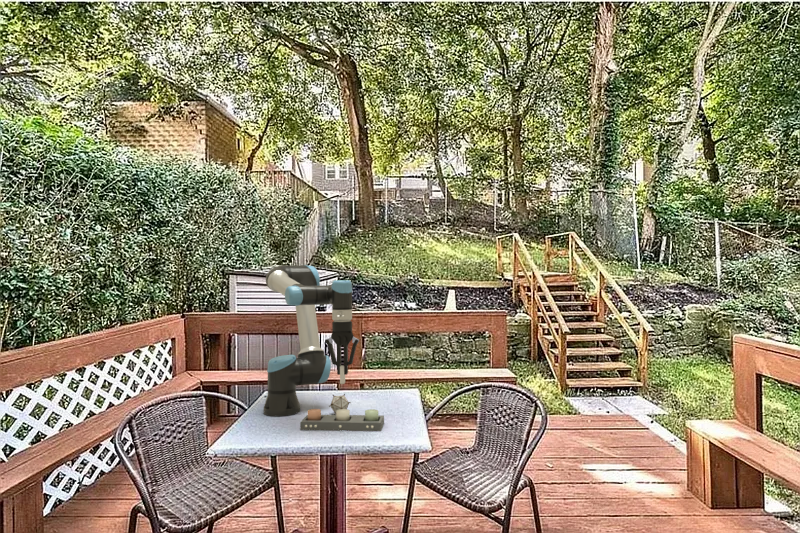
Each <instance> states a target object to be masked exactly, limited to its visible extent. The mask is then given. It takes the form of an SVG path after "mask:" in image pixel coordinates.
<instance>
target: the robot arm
mask: <svg viewBox="0 0 800 533" xmlns="http://www.w3.org/2000/svg"><path fill="white" fill-rule="evenodd" d="M265 284H266V286H267V288H269V289H270V290H271V291H272V292H275V293H280V294H281V295H283V296H284V300H285V302H286V305H288V306H295V312H296V321H297V329H298V330H297V331H298V338H299V339H298V340H299V346H300V347H299V348H300V351H299V352H298V353H297V357H296V355H295V354H288V355H287V354H285V355H279V356H275V357H272V358H270V359H269V360H268V362H267V371H266V372H267V396H266V399H265V402H264V405H263V415H266V416H268V417H269V416H270V417H286V416H292V415H297V414H298V413H300V412H301V404H300V401H299V398H298V395H297V387H298V386H306V385H314V384H315V385H318V384H323V383H326V382H327V381H328V379H329V377H330V375H331V371H332V370H331V368H332V365H334V366H336V369H337V370H336V372H337V375H339V384H340V385H345V384H346V376H347V375H348V374H349V366H350V365H352V364H353V362H354V359H355V355H356V354H355V353H356V350H357V345H358V344H359V342H360V339H359V338H357V337H355V335H354V333H353V321H351V320H353V285H352V281H351V280H348V279H347V280H346V279H345V280H344V279H343V280H341V279H340V280H333V281H332V283H331V284H330V285H329V284H327V285H321V278H320V274H319V272H318V269H317V268H316V267H315V266H313V265H307V264H303V265H299V264H298V265H297V264H295V265H294V264H293V265H292V264H289V265H286V264H285V265H284V264H283V265H278V266H275V267H273V268H272V269H270V270H269V271H268V273H267V274H266V276H265ZM318 305H319V306H320V305H324V306H325V305H326V306H327V305H331V306H332V307H331V308H332V309H331V312H332V313H331V317H332V318H331V319H332V320H333V321H332V323H331V324H332V325H331V326H332V328H331V330H332V331H331V335H330V337H329V338H326V339H325V343H326V345H327V347H328V350H329V355H330V356H328V355H325V350H324V349H323V348H321V343H320V335H319V328H318V320H317V313H316V306H318ZM333 342H334V343H335V345H336V354H335V350H334V346H333ZM350 343H352V345H351V351H350V355H349V345H350ZM342 346H343V347H342ZM342 348H343V363H342ZM342 364H343V365H342Z"/></svg>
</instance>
